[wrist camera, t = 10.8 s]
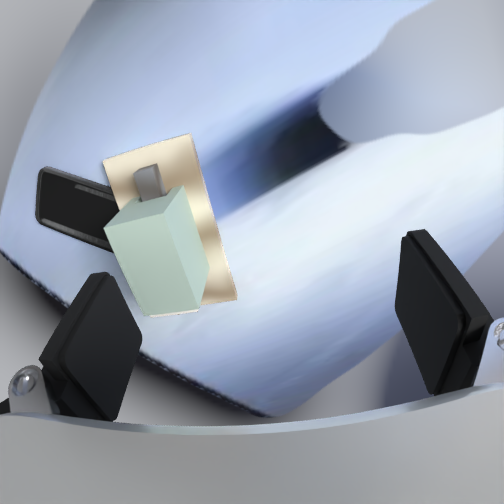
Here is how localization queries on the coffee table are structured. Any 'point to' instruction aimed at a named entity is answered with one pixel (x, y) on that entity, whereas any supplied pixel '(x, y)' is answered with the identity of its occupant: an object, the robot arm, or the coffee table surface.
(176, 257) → the mint green box
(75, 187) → the phone
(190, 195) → the board
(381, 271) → the coffee table surface
